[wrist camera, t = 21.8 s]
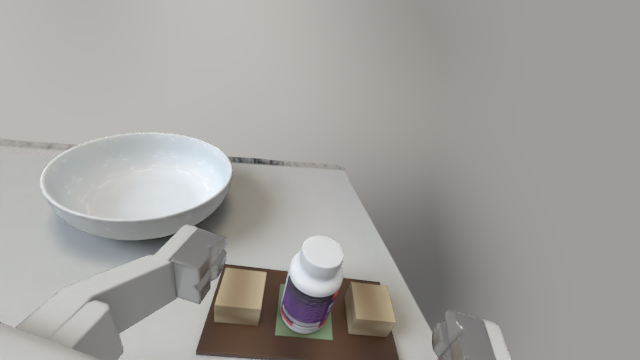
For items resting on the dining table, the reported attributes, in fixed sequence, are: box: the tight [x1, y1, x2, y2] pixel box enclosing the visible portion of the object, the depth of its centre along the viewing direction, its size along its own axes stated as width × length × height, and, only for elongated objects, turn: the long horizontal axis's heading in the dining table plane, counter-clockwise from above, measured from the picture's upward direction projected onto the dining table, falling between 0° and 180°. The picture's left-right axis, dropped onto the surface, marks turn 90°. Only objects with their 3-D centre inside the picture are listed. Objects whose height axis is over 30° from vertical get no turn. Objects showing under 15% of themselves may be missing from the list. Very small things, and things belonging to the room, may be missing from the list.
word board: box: [196, 264, 399, 360], centre depth 30 cm, size 20×10×4 cm, turn 92°
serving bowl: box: [40, 133, 233, 240], centre depth 38 cm, size 21×21×7 cm
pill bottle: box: [280, 236, 344, 334], centre depth 28 cm, size 5×5×10 cm
